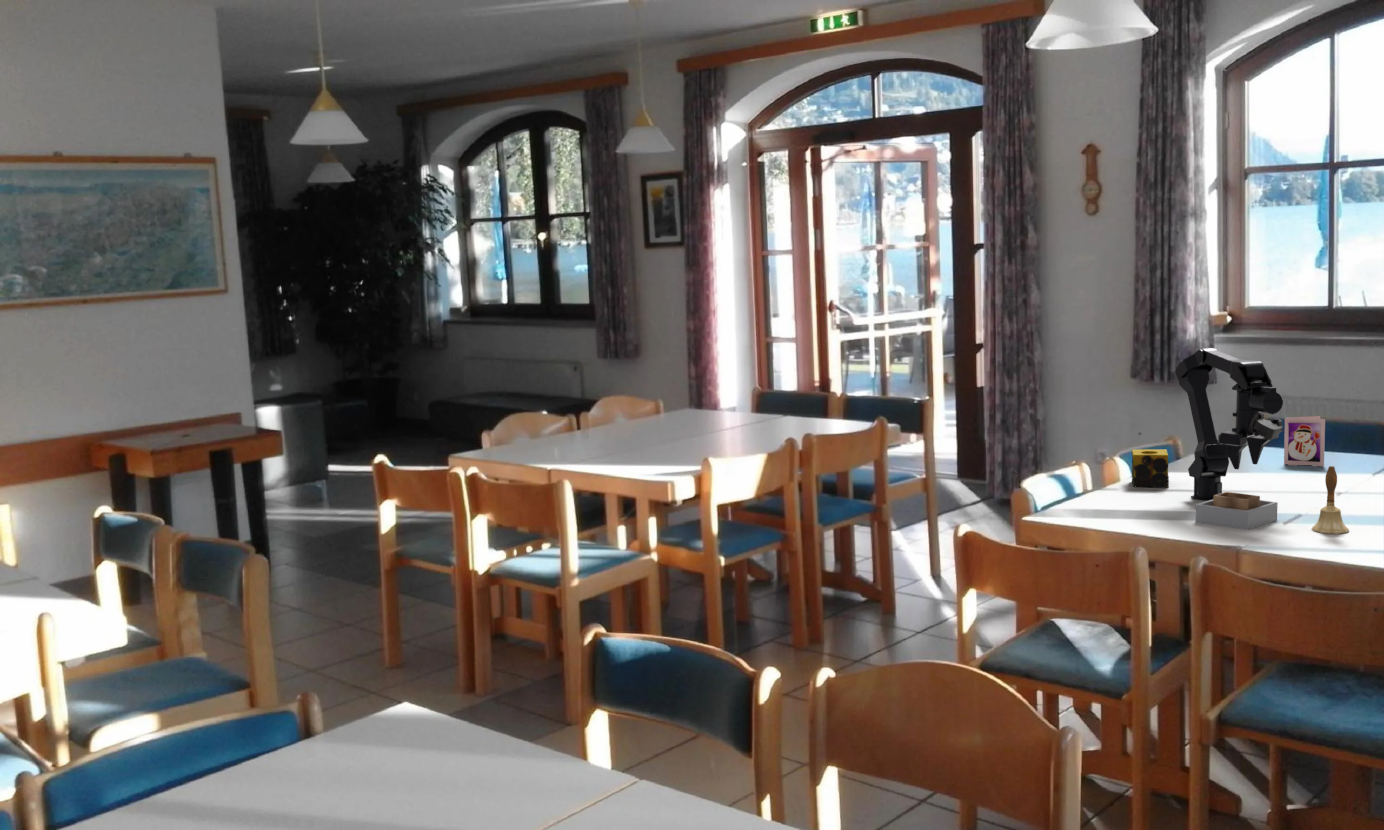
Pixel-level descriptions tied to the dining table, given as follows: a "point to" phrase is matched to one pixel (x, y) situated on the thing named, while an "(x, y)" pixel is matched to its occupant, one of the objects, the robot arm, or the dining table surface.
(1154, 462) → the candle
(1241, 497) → the walnut crate
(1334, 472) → the hand bell
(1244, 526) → the grey crate
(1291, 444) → the greeting card
